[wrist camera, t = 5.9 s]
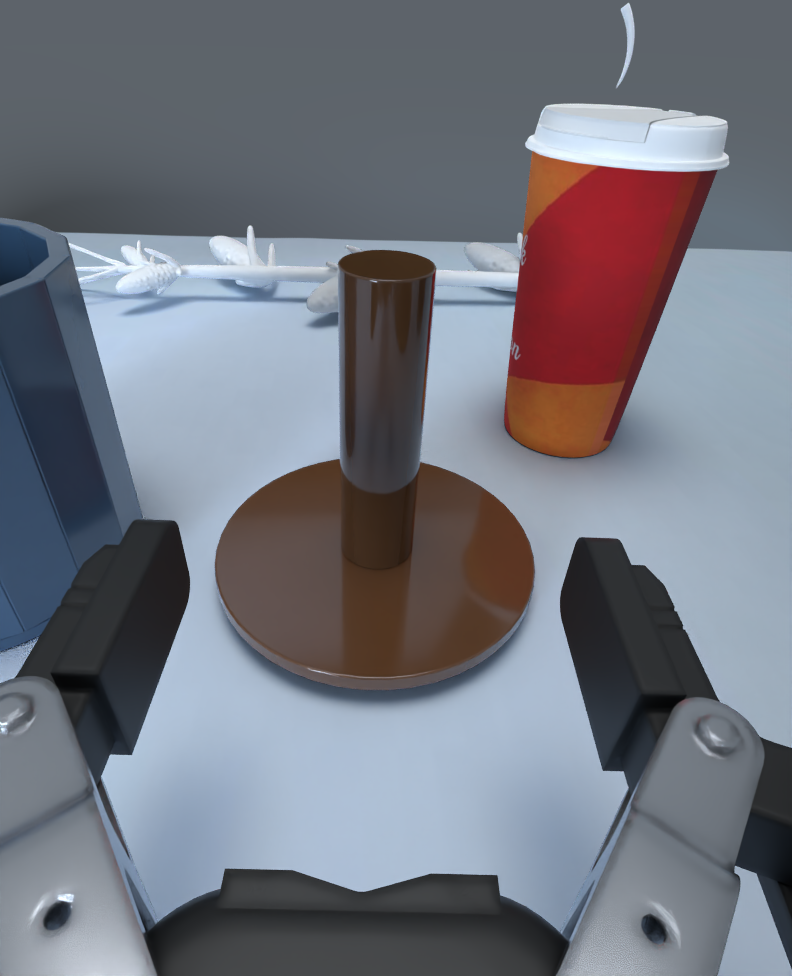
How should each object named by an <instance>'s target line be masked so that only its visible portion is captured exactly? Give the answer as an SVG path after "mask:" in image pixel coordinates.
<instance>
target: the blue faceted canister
mask: <svg viewBox="0 0 792 976" xmlns="http://www.w3.org/2000/svg"><path fill="white" fill-rule="evenodd" d="M136 519H142V514H141V510H140V506H139V503H138V499H137V495H136V491H135V488H134V484H133V480H132V477H131V473H130V469H129V466H128V462H127V458H126V454H125V451H124V447H123V443H122V440H121V436H120V432H119V429H118V425H117V421H116V417H115V414H114V410H113V406H112V403H111V399H110V395H109V391H108V388H107V384H106V380H105V377H104V373H103V369H102V366H101V362H100V358H99V354H98V351H97V347H96V343H95V340H94V336H93V332H92V328H91V325H90V321H89V317H88V314H87V310H86V306H85V303H84V299H83V295H82V291H81V288H80V284H79V280H78V277H77V273H76V269H75V265H74V262H73V258H72V254H71V251H70V247H69V244H68V240H67V238H66V237H65V236H63V235H61V234H58V233H56V232H54V231H51V230H49V229H47V228H45V227H42V226H40V225H38V224H35V223H31V222H25V221H19V220H12V219H6V218H0V651H3V650H6V649H9V648H12V647H14V646H17V645H20V644H22V643H24V642H27V641H29V640H31V639H33V638H36V637H38V636H40V635H41V634H42V632H43V631H44V629H45V627H46V625H47V624H48V622H49V620H50V619H51V617H52V615H53V614H54V612H55V610H56V609H57V607H58V606H59V607H60V605H61V600H62V598H63V597H64V595H65V593H66V592H67V590H68V589H70V588H71V583H72V581H73V580H74V578H75V576H76V575H77V573H78V571H79V570H80V568H81V566H82V565H83V563H84V562H85V561H86V560H87V559H89V558H90V557H91V556H92V555H93V554H94V553H96V552H97V551H98V550H99V549H100V548H102V547H103V546H104V545H105V544H111V545H119V544H120V542H121V541H122V539H123V537H124V535H125V533H126V531H127V529H128V528H129V526H130V524H131V523H132V522H133V521H134V520H136Z"/></svg>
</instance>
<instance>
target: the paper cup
mask: <svg viewBox="0 0 792 976" xmlns="http://www.w3.org/2000/svg"><path fill="white" fill-rule="evenodd" d="M727 130H728V125H727V121H725V120H722V119H720V118H716V117H711V116H697V115H695V114H694V113H690V112H683V111H676V110H669V112H668V111H662V109H655V108H645V107H632V106H618V105H600V104H554V105H548V106H545V108H544V109H543V111H542V113H541V116H540V120H539V123H538V125H537V128H536V132H535V135H532V136H530V137H529V138H528V140H527V142H526V144H525V145H526V147H527V148H528V149H530V150H532V159H531V169H530V177H529V187H528V195H527V204H526V213H525V222H524V231H523V240H522V249H521V258H520V267H519V276H518V285H517V294H516V303H515V312H514V321H513V330H512V340H511V349H510V359H509V368H508V378H507V388H506V400H505V414H504V423H505V427H506V429H507V431H508V433H509V434H510V435H511V436H512V437H513V438H514V439H515V440H516V441H518V442H519V443H521V444H522V445H524V446H526V447H528V448H530V449H533V450H535V451H538V452H541V453H544V454H548V455H552V456H559V457H570V458H575V457H586V456H591V455H594V454H597V453H599V452H601V451H603V450H605V449H606V448H607V447H608V446H609V444H610V442H611V441H612V438H613V436H614V434H615V432H616V430H617V427H618V425H619V422H620V420H621V418H622V415H623V413H624V410H625V408H626V405H627V403H628V400H629V398H630V395H631V393H632V390H633V387H634V385H635V382H636V380H637V377H638V375H639V372H640V370H641V367H642V364H643V362H644V359H645V357H646V354H647V352H648V349H649V346H650V344H651V341H652V339H653V336H654V334H655V331H656V328H657V326H658V323H659V321H660V318H661V315H662V313H663V310H664V308H665V305H666V302H667V300H668V297H669V295H670V292H671V289H672V287H673V284H674V282H675V279H676V276H677V274H678V271H679V269H680V266H681V263H682V261H683V258H684V256H685V253H686V250H687V248H688V245H689V243H690V239H691V237H692V235H693V232H694V229H695V227H696V224H697V222H698V219H699V216H700V214H701V211H702V209H703V206H704V204H705V201H706V198H707V196H708V193H709V190H710V188H711V185H712V183H713V180H714V178H715V175H716V172H717V170H718V169H722V168H725V167H726V166H728V164H729V161H728V159H729V157H728V155H727V154H726V153H724V152H723V151H724V146H725V141H726V136H727Z"/></svg>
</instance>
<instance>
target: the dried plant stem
mask: <svg viewBox="0 0 792 976" xmlns="http://www.w3.org/2000/svg"><path fill="white" fill-rule="evenodd" d="M621 12H622V14H623V17H624V20H625V24H626V30H627V40H628V41H627V55H626V61H625V65H624V69H623V72H622V75H621V77H620V80H619V82H618V85H619V84H620V83H621V81H622V79H623V78H624V75H625V74H626V71H627V69H628V66H629V63H630V60H631V57H632V52H633V47H634V35H635V32H634V20H633V15H632V10H631V7H630V4H629V3H628V4H626V5H625V6H624V7H623V8H621ZM618 85H617V87H618ZM517 240H518V248H519V254H520V258H521V249H522V240H523V236H522V234H521V233H518V236H517ZM68 244H69V247H71V248H74V249H76V250H79V251H81V252H84V253H87V254H89V255H91V256H94V257H97V258H99V259H102V260H104V261H106V262H109V263H111V264H113V265H114V266H101V267H75V269H76V271H95V272H100V273H97V274H94V275H90V276H86V277H82V278H79V279H78V280H79V284H80V285H81V284H84V283H88V282H92V281H96V280H99V279H103V278H107V277H112V276H115V275H122V274H126V273H127V275H125V276H124V277H123V278H121V279H120V280H119V281H118V282H117V284H116V287H115V288H116V290H117V291H118V292H120V293H123V294H137V293H143V292H147V291H151V290H154V289H157V288H159V289H158V290H157V294H161V293H162V292H163V291H164V290H166V289H167V288H168V287H169V286H170V285H171V284H172V283H173V282H174V281H175V280H176V279H177V278H178V277H192V278H212V279H234V280H236V283H237V284H238V285H241V286H246V287H255V288H256V287H266V286H268V285H270V284H272V283H273V281H283V282H310V283H323V284H321V285H320V286H319V287H318V288H316V289H315V290H314V291H313V292H312V293H311V295H310V296H309V298H308V300H307V308H308V309H309V310H310V311H312V312H315V313H333V312H338V264H336V263H332V262H327V263H326V265H327V266H328V267H309V266H276V258H275V249H274V244H273V243H271V244H270V246H269V252H268V266H265V264H264V263H263V262H262V260H261V259H260V257H259V256H258V255H257V252H256V245H255V238H254V232H253V227H252V226H249V227H248V230H247V246H246V245H244V244H242V243H241V242H239V241H237V240H235V239H232V238H230V237H226V236H215V237H213V238H211V239H210V241H209V247H210V249H211V252H212V254H213V255H214V257H215V259H216V260H217V262H218V263H219V264H220V265H180V264H179V263H178V262H177V261H176V260H174V259H173V258H171V257H169V256H167V255H165V254H163V253H160V252H158V251H155V250H154V249H153V250H152V249H149V248H144V250H145V251H146V252H148V253H150V254H151V257H150V262H148V260H147V258H146V257H145V256H144V255H143V253H142V251H141V242H140V241H138V243H137V249H136V248H134V247H132V246H128V245H125V246H122V247H121V253H122V255H123V257H124V259H125V260H126V261H127V262H128V263H129V264H130V265H125V264H124V263H123V262H120V261H117V260H113V259H109V258H107V257H104V256H102V255H99V254H96V253H94V252H91V251H89V250H86V249H83V248H81V247H78V246H75V245H73V244H71V243H68ZM345 249H346V250H347V251H348V252H350V253H356V252H362V251H363V250H361V249H359V248H356V247H353V246H349V245H346V246H345ZM464 253H465V255H466V257H467V259H468V260H469V261H470V263H471V264H472V265H473V266H474V267H475V268H476V269H478V270H477V271H470V270H468V271H455V270H437V271H436V282H435V286H456V287H493V288H494V289H496V290H502V291H511V292H517V285H518V276H519V267H520V259H519V258H518V257H516V256H514V255H513V254H512V253H510V252H508V251H506V250H503V249H501V248H498V247H496V246H493V245H490V244H486V243H480V242H473V243H469V244H467V245H466V246H465V247H464ZM155 256H156V257H158V258H161V259H163V260H165V261H167V262H168V263H167V262H164V263H162V262H161V263H158V264H156V263H155ZM154 263H155V264H154ZM102 271H103V272H102Z"/></svg>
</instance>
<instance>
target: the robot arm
mask: <svg viewBox="0 0 792 976" xmlns="http://www.w3.org/2000/svg"><path fill="white" fill-rule="evenodd" d="M189 592H190V576H189V571H188V567H187V562H186V558H185V553H184V549H183V545H182V540H181V536H180V531H179V528H178V525H177V523H176V522H175V521H170V520H144V519H136V520H134V521H133V522H132V523H131V524H130V526H129V528H128V529H127V531H126V533H125V535H124V537H123V539H122V541H121V542H120V544H119V545H111V544H105V545H104V546H103V547H102V548H100V549H99V550H98V551H97V552H96V553H94V554H93V555H92V556H91V557H90V558H89V559H87V560H86V561H85V562H84V563H83V565H82V566H81V568H80V570H79V571H78V573H77V575H76V576H75V578H74V580H73V581H72V583H71V588H70V589H68V590H67V592H66V593H65V595H64V597H63V598H62V600H61V605H60V607H59V606H58V607H57V609H56V610H55V612H54V614H53V615H52V617H51V619H50V620H49V622H48V624H47V625H46V627H45V629H44V631H43V632H42V634H41V636H40V637H39V639H38V641H37V642H36V644H35V646H34V648H33V649H32V651H31V653H30V654H29V656H28V658H27V659H26V661H25V663H24V664H23V666H22V668H21V670H20V671H19V673H18V674H17V676H16V677H15V678H14V679H10V680H8V681H5V682H3V683H0V976H717V975H718V971H719V967H720V964H721V960H722V956H723V952H724V949H725V945H726V941H727V938H728V934H729V930H730V926H731V923H732V919H733V915H734V912H735V908H736V904H737V900H738V896H739V891H740V877H739V876H738V875H737V874H735V873H734V867H735V866H738V867H741V868H743V869H746V870H749V871H751V872H754V873H757V876H758V879H759V881H760V884H761V887H762V889H763V892H764V895H765V898H766V900H767V903H768V906H769V908H770V911H771V914H772V917H773V919H774V922H775V925H776V927H777V930H778V933H779V936H780V938H781V941H782V944H783V947H784V949H785V952H786V955H787V957H788V960H789V963H790V966H791V968H792V748H789V747H786V746H783V745H780V744H777V743H774V742H771V741H768V740H766V739H763V738H761V737H759V735H758V734H757V732H756V731H755V729H754V728H753V726H752V725H751V724H750V723H749V722H748V721H747V720H746V719H745V718H744V717H743V716H742V715H741V714H739V713H738V712H737V711H735V710H734V709H732V708H731V707H729V706H727V705H725V704H723V703H721V702H720V701H719V700H718V698H717V696H716V694H715V692H714V690H713V688H712V685H711V683H710V681H709V679H708V677H707V675H706V673H705V671H704V668H703V666H702V664H701V662H700V660H699V658H698V656H697V654H696V652H695V649H694V647H693V645H692V643H691V641H690V639H689V637H688V635H687V633H686V630H683V624H682V622H681V620H680V618H679V616H678V614H677V611H674V605H673V603H672V601H671V599H670V597H669V595H668V592H667V590H666V588H665V586H664V585H663V584H662V583H661V582H660V581H659V580H658V579H657V578H656V577H655V576H654V574H653V573H652V572H651V571H650V570H649V569H648V568H647V567H646V566H643V565H631V563H630V561H629V559H628V556H627V554H626V552H625V549H624V547H623V545H622V543H621V541H620V540H618V539H611V538H585V537H581V538H579V539H578V540H577V542H576V544H575V547H574V550H573V554H572V557H571V560H570V563H569V567H568V570H567V573H566V577H565V580H564V583H563V586H562V590H561V596H560V612H561V619H562V623H563V626H564V630H565V634H566V637H567V641H568V645H569V648H570V652H571V656H572V659H573V663H574V667H575V670H576V674H577V678H578V681H579V685H580V689H581V692H582V696H583V700H584V703H585V707H586V711H587V714H588V718H589V722H590V725H591V729H592V733H593V736H594V740H595V744H596V747H597V751H598V755H599V758H600V762H601V766H602V769H603V771H624V774H625V777H626V780H627V784H628V787H629V788H628V790H627V792H626V793H625V795H624V798H623V800H622V802H621V804H620V806H619V808H618V811H617V813H616V815H615V817H614V819H613V821H612V824H611V826H610V828H609V830H608V832H607V834H606V837H605V839H604V841H603V843H602V845H601V847H600V849H599V852H598V854H597V856H596V858H595V860H594V862H593V865H592V867H591V869H590V871H589V873H588V875H587V878H586V880H585V882H584V884H583V886H582V888H581V890H580V892H579V894H578V896H577V898H576V899H575V901H574V903H573V905H572V907H571V909H570V911H569V913H568V916H567V918H566V920H565V922H564V924H563V926H562V928H561V930H560V932H559V931H558V930H557V929H556V928H554V927H553V926H552V925H551V924H550V923H548V922H547V921H546V920H545V919H543V918H542V917H541V916H539V915H538V914H536V913H535V912H533V911H532V910H530V909H529V908H527V907H526V906H523V905H521V904H519V903H517V902H515V901H513V900H511V899H509V898H506V897H503V896H500V893H499V884H498V876H497V875H463V874H428V875H425V876H421V877H417V878H414V879H410V880H407V881H403V882H399V883H396V884H392V885H389V886H385V887H381V888H378V889H374V890H371V891H366V892H357V891H353V890H350V889H347V888H344V887H341V886H338V885H335V884H332V883H329V882H326V881H323V880H320V879H317V878H314V877H311V876H308V875H305V874H302V873H299V872H296V871H293V870H259V869H225V871H224V876H223V881H222V886H221V889H219V890H215V891H212V892H209V893H206V894H204V895H202V896H199V897H197V898H194V899H192V900H191V901H189V902H187V903H185V904H184V905H182V906H180V907H178V908H176V909H175V910H174V911H172V912H171V913H170V914H168V915H167V916H165V917H164V918H163V919H161V920H160V921H159V922H158V920H157V918H156V915H155V912H154V910H153V907H152V905H151V902H150V900H149V898H148V895H147V893H146V891H145V888H144V886H143V884H142V881H141V879H140V877H139V874H138V872H137V869H136V867H135V864H134V862H133V859H132V856H131V854H130V851H129V848H128V845H127V843H126V840H125V837H124V835H123V832H122V829H121V827H120V824H119V821H118V819H117V816H116V813H115V811H114V808H113V805H112V803H111V800H110V797H109V795H108V792H107V789H106V787H105V784H104V781H103V779H102V777H101V775H102V773H103V770H104V768H105V765H106V763H107V760H108V758H109V755H110V754H116V755H132V753H133V750H134V747H135V745H136V742H137V739H138V736H139V734H140V731H141V728H142V726H143V723H144V720H145V717H146V715H147V712H148V709H149V707H150V704H151V701H152V698H153V696H154V693H155V690H156V688H157V685H158V682H159V679H160V677H161V674H162V671H163V669H164V666H165V663H166V660H167V658H168V655H169V652H170V650H171V647H172V644H173V641H174V639H175V636H176V633H177V631H178V628H179V625H180V622H181V620H182V617H183V614H184V612H185V609H186V606H187V603H188V598H189Z"/></svg>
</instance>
